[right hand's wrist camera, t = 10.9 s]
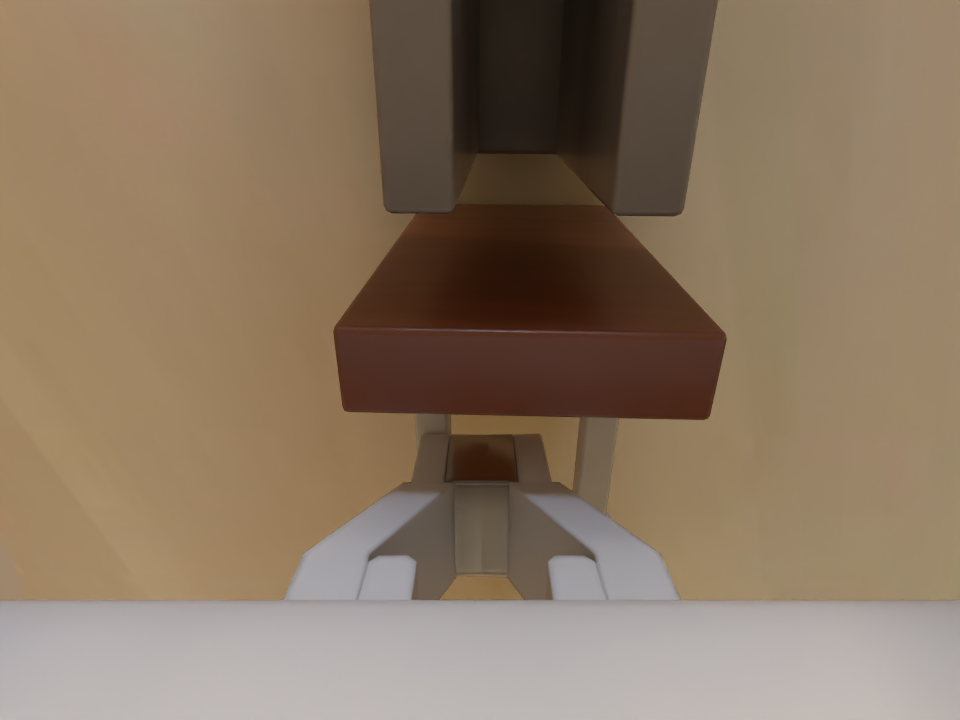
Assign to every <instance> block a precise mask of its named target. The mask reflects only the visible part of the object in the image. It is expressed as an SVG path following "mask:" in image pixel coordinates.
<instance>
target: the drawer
mask: <svg viewBox="0 0 960 720" xmlns="http://www.w3.org/2000/svg"><path fill="white" fill-rule="evenodd" d="M717 3H718V0H369V6H370V20H371V34H372V48H373V62H374V76H375V90H376V104H377V118H378V132H379V146H380V160H381V174H382V188H383V202H384V207H385V209H386V211H388V212H390V213H416V215H415V216H414V217H413V219H412V220H411V222H410V223H409V224H408V226H407V227H406V229H405V230H404V231H403V233H402V234H401V236H400V237H399V238H398V240H397V241H396V242H395V244H394V245H393V247H392V248H391V249H390V251H389V252H388V254H387V255H386V256H385V258H384V259H383V261H382V262H381V263H380V265H379V266H378V267H377V269H376V270H375V272H374V273H373V274H372V276H371V277H370V279H369V280H368V281H367V283H366V284H365V286H364V287H363V288H362V290H361V291H360V292H359V294H358V295H357V297H356V298H355V299H354V301H353V302H352V304H351V305H350V306H349V308H348V309H347V311H346V312H345V313H344V315H343V316H342V317H341V319H340V320H339V322H338V323H337V324H336V326H335V328H334V331H333V333H334V342H335V350H336V358H337V366H338V374H339V382H340V390H341V398H342V406H343V409H344V410H345V411H347V412H372V413H415V428H416V446H417V452H418V447H419V442H420V438H421V436H422V435H423V434H449V435H451V414H461V415H506V416H551V417H580V422H579V432H578V442H577V453H576V463H575V473H574V483H573V492H574V493H575V494H577V495H578V496H579V497H581V498H582V499H584V500H585V501H587V502H588V503H589V504H591V505H592V506H594V507H595V508H596V509H598V510H599V511H601V512H602V513H604V514H605V515H606V516H608V517H609V518H610V515H609V513H608V512H606V510H607V503H608V496H609V488H610V481H611V473H612V466H613V458H614V451H615V444H616V436H617V429H618V421H619V418H640V419H685V420H705V419H708V418H709V416H710V413H711V408H712V404H713V399H714V394H715V390H716V385H717V381H718V376H719V372H720V367H721V363H722V358H723V353H724V349H725V344H726V339H727V338H726V334H725V333H724V332H723V330H722V329H721V328H720V327H719V326H718V325H717V324H716V323H715V322H714V321H713V320H712V319H711V318H710V317H709V315H708V314H707V313H706V312H705V311H704V310H703V309H702V308H701V307H700V306H699V305H698V304H697V303H696V302H695V301H694V299H693V298H692V297H691V296H690V295H689V294H688V293H687V292H686V291H685V290H684V289H683V288H682V287H681V286H680V284H679V283H678V282H677V281H676V280H675V279H674V278H673V277H672V276H671V275H670V274H669V273H668V272H667V271H666V269H665V268H664V267H663V266H662V265H661V264H660V263H659V262H658V261H657V260H656V259H655V258H654V257H653V256H652V255H651V253H650V252H649V251H648V250H647V249H646V248H645V247H644V246H643V245H642V244H641V243H640V242H639V241H638V240H637V238H636V237H635V236H634V235H633V234H632V233H631V232H630V231H629V230H628V229H627V228H626V227H625V226H624V225H623V224H622V222H621V221H620V220H619V219H618V218H617V217H616V216H615V215H617V216H676V215H679V214H681V213H682V211H683V209H684V204H685V198H686V192H687V186H688V180H689V174H690V168H691V162H692V156H693V149H694V143H695V137H696V131H697V125H698V119H699V113H700V107H701V100H702V94H703V88H704V82H705V76H706V70H707V64H708V58H709V52H710V45H711V39H712V33H713V27H714V21H715V15H716V9H717ZM477 154H558V156H559V157H560V158H561V159H562V160H563V161H564V162H565V163H566V164H567V165H568V166H569V167H570V168H571V170H572V171H573V172H574V173H575V174H576V175H577V176H578V177H579V178H580V179H581V180H582V181H583V183H584V184H585V185H586V186H587V187H588V188H589V189H590V190H591V191H592V192H593V193H594V194H595V195H596V197H597V198H598V199H599V200H600V201H601V202H602V203H603V204H604V205H605V206H564V205H468V204H457V202H458V199H459V197H460V194H461V192H462V190H463V187H464V185H465V182H466V180H467V178H468V175H469V173H470V170H471V168H472V166H473V163H474V161H475V158H476V156H477ZM614 214H615V215H614ZM456 576H473V577H505V578H507V575H487V574H475V575H456Z"/></svg>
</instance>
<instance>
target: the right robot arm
mask: <svg viewBox="0 0 960 720" xmlns="http://www.w3.org/2000/svg"><path fill="white" fill-rule="evenodd" d="M475 574H487V575H507V578H508V579H509V580H510V582H511V583H512V584H513V586H514V587H515V588H516V589H517V591H518V592H519V593H520V595H521V596H522V597H523V599H524V600H439V599H440V598H441V597H442V595H443V594H444V593H445V591H446V590H447V589H448V587H449V586H450V585H451V583H452V582H453V581H454V580H455V578H456V575H475ZM0 720H960V600H681V599H680V596H679V594H678V592H677V590H676V587H675V585H674V583H673V580H672V578H671V576H670V574H669V571H668V569H667V567H666V565H665V562H664V560H663V558H662V555H661V554H660V553H659V552H657V551H656V550H655V549H653V548H652V547H650V546H649V545H648V544H646V543H645V542H643V541H642V540H640V539H639V538H638V537H636V536H635V535H633V534H632V533H630V532H629V531H628V530H626V529H625V528H623V527H622V526H621V525H619V524H618V523H616V522H615V521H613V520H612V519H611V518H609V517H608V516H606V515H605V514H604V513H602V512H601V511H599V510H598V509H596V508H595V507H594V506H592V505H591V504H589V503H588V502H587V501H585V500H584V499H582V498H581V497H579V496H578V495H577V494H575V493H574V492H572V491H571V490H570V489H568V488H567V487H565V486H564V485H562V484H561V483H559V482H552V481H551V476H550V472H549V467H548V463H547V458H546V453H545V449H544V444H543V439H542V435H540V434H518V435H513V434H502V435H462V434H451V435H449V434H423V435H422V436H421V438H420V442H419V447H418V452H417V457H416V462H415V467H414V472H413V477H412V482H404V483H402V484H401V485H399V486H398V487H397V488H395V489H394V490H392V491H391V492H389V493H388V494H387V495H385V496H384V497H382V498H381V499H380V500H378V501H377V502H375V503H374V504H372V505H371V506H370V507H368V508H367V509H365V510H364V511H363V512H361V513H360V514H358V515H357V516H356V517H354V518H353V519H351V520H350V521H348V522H347V523H346V524H344V525H343V526H341V527H340V528H339V529H337V530H336V531H334V532H333V533H331V534H330V535H329V536H327V537H326V538H324V539H323V540H322V541H320V542H319V543H317V544H316V545H315V546H313V547H312V548H310V549H309V550H307V551H306V552H305V553H304V554H303V556H302V558H301V561H300V563H299V565H298V567H297V570H296V572H295V574H294V577H293V579H292V581H291V584H290V586H289V588H288V590H287V593H286V595H285V597H284V600H0Z"/></svg>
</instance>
